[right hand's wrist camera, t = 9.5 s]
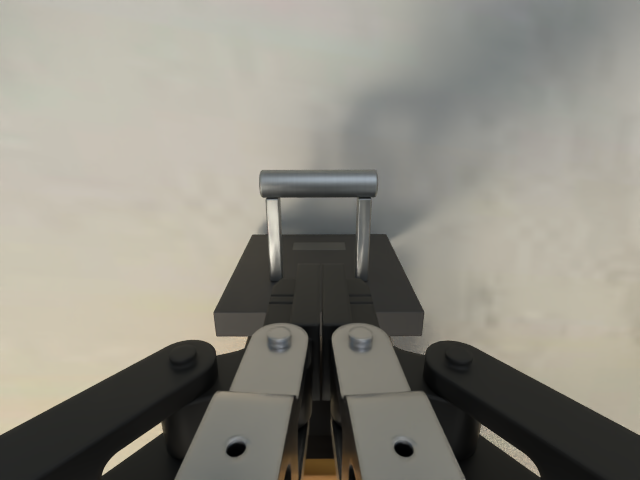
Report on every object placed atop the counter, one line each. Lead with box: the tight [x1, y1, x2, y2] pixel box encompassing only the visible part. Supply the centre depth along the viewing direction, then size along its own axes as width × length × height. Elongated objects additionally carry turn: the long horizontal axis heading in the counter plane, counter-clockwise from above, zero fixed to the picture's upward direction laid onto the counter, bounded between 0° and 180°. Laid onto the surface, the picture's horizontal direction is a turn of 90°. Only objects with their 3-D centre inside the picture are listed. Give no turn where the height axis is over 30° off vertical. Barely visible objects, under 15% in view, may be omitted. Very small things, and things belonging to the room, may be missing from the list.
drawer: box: [214, 170, 424, 459], centre depth 22 cm, size 22×9×10 cm, turn 0°
